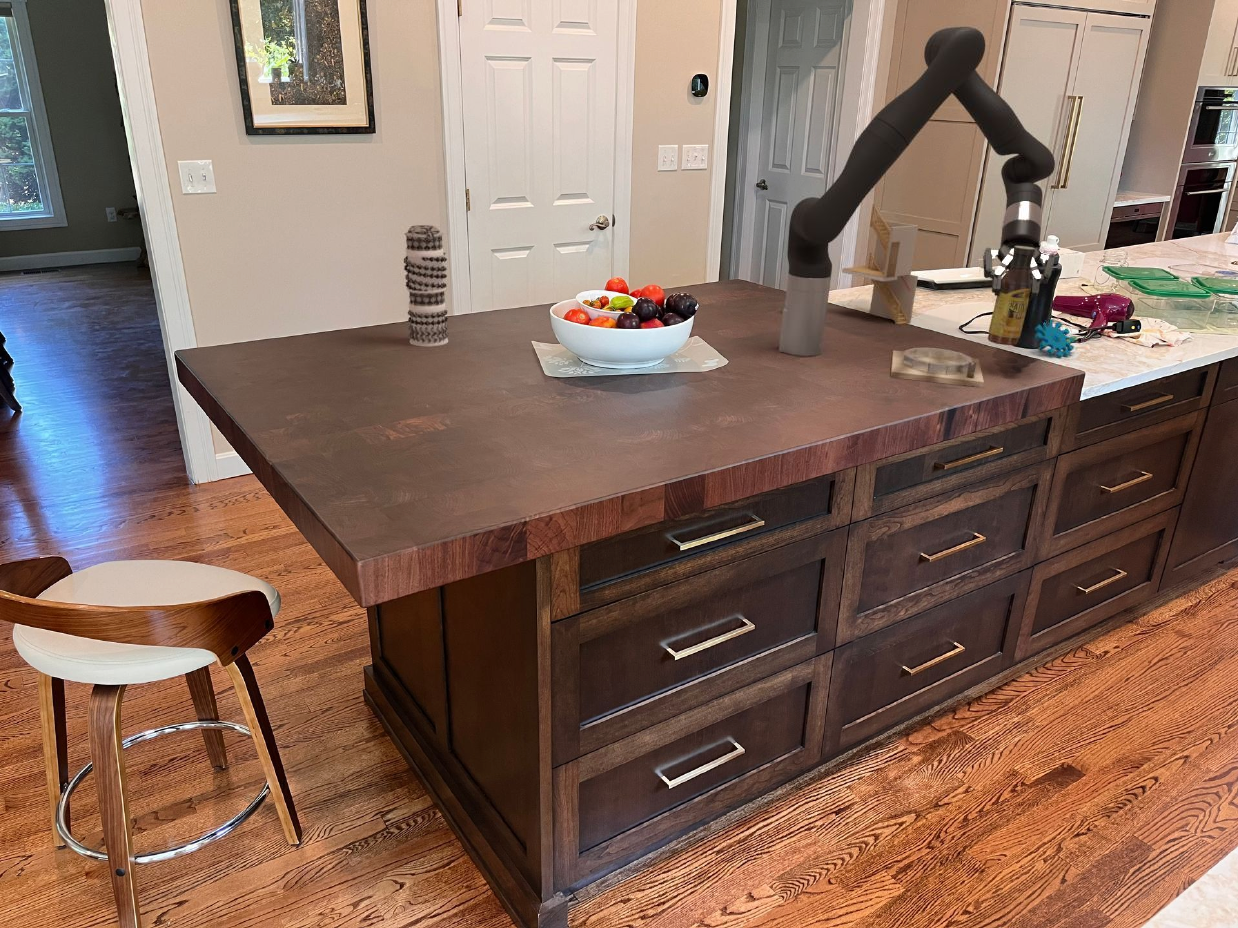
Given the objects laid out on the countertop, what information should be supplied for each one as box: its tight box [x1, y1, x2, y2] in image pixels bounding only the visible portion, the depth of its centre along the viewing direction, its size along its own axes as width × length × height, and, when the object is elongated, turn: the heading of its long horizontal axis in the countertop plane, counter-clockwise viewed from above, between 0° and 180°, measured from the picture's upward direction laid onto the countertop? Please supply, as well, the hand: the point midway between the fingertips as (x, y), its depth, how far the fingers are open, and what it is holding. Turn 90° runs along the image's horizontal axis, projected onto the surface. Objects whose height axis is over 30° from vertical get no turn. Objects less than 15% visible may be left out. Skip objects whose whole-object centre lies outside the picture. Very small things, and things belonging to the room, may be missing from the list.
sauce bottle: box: [987, 246, 1035, 346], centre depth 184 cm, size 6×6×20 cm
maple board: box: [890, 350, 985, 388], centre depth 189 cm, size 18×18×1 cm
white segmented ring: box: [903, 347, 976, 378], centre depth 188 cm, size 14×14×3 cm
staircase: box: [841, 203, 919, 325], centre depth 228 cm, size 10×16×29 cm, turn 36°
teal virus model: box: [1034, 318, 1078, 359], centre depth 207 cm, size 11×6×10 cm
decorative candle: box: [403, 224, 449, 348], centre depth 193 cm, size 9×9×25 cm
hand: (1014, 295), depth 182 cm, fingers closed on sauce bottle, 6 cm apart
